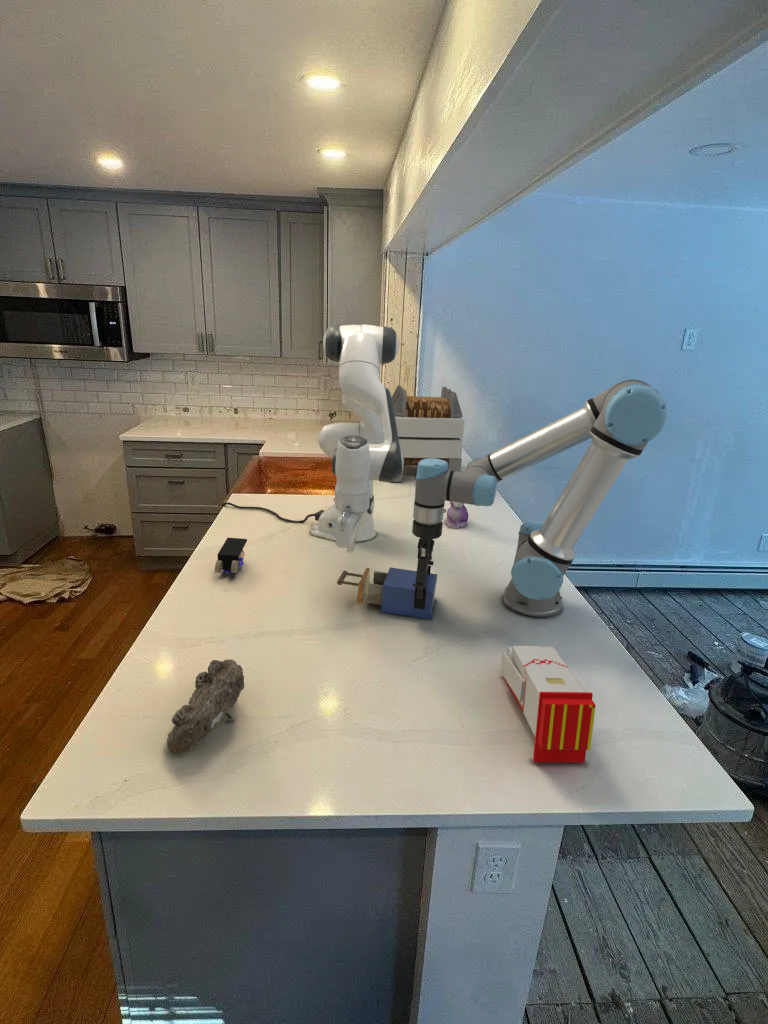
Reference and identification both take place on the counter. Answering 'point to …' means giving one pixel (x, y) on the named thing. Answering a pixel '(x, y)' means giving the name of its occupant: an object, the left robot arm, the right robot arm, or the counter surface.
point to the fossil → (206, 705)
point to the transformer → (429, 428)
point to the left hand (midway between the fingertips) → (350, 550)
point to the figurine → (457, 515)
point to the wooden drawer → (367, 585)
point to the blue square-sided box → (406, 593)
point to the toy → (550, 702)
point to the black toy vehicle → (230, 556)
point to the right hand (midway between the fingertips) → (421, 597)
